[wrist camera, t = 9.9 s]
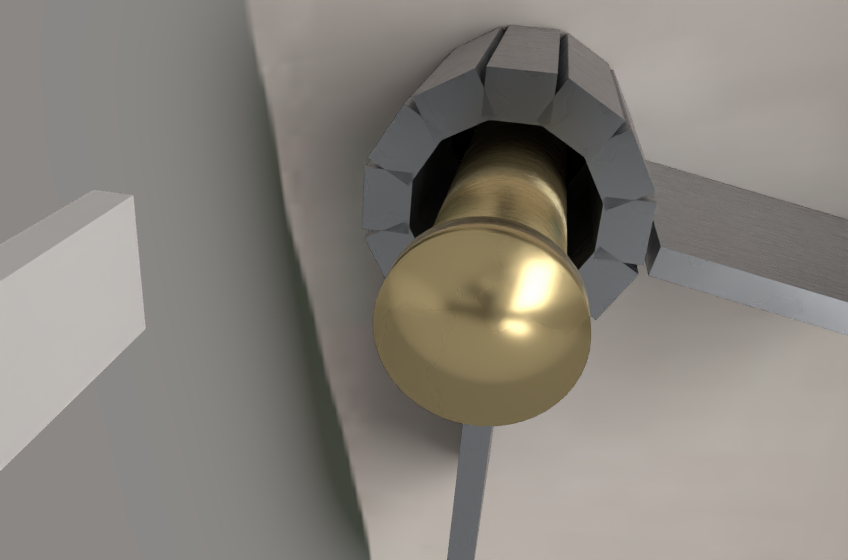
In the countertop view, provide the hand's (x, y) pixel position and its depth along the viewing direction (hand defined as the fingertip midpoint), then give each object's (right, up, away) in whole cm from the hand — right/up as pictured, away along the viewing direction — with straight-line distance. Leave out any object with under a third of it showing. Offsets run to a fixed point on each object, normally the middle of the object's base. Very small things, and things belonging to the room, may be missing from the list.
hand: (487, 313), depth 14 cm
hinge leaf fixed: (+2, +1, +15) cm, 15 cm away
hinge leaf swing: (+11, +3, +12) cm, 16 cm away
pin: (+2, +5, +13) cm, 14 cm away
